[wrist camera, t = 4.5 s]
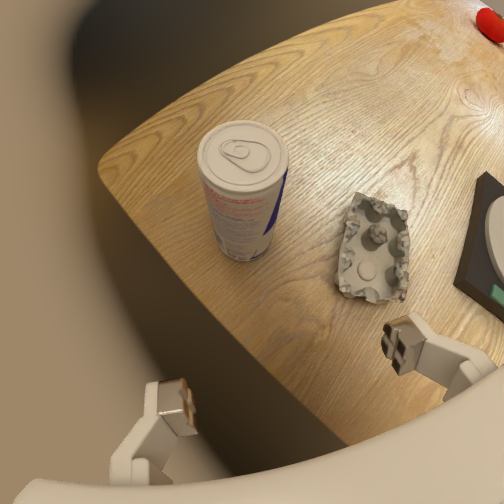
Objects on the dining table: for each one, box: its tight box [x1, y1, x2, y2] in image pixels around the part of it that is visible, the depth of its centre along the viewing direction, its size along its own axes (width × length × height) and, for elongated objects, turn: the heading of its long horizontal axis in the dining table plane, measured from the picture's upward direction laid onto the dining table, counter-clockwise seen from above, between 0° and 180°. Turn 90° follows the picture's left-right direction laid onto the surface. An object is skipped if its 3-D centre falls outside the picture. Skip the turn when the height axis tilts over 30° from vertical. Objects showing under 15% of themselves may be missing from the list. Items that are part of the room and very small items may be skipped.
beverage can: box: [197, 120, 289, 261], centre depth 25 cm, size 6×6×15 cm
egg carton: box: [334, 192, 410, 305], centre depth 30 cm, size 11×8×4 cm
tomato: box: [476, 8, 504, 43], centre depth 48 cm, size 11×13×10 cm
